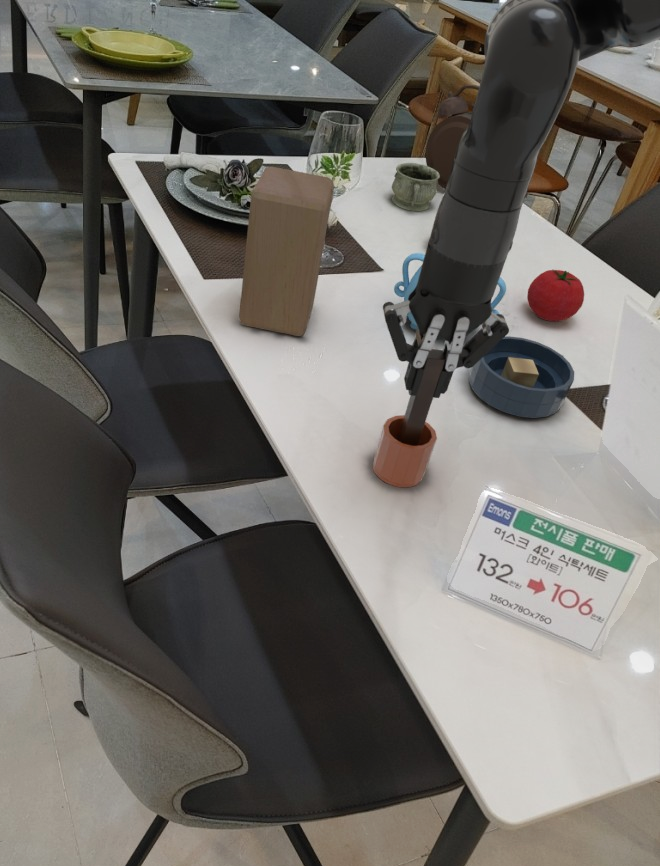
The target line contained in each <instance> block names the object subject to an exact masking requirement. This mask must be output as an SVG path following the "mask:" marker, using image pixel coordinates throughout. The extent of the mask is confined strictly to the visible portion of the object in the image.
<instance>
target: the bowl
mask: <svg viewBox="0 0 660 866" xmlns="http://www.w3.org/2000/svg"><path fill="white" fill-rule="evenodd" d="M508 357H512V358H521V359H530V360H533V361H534V364H535V366H536V368H537V371H538V373H539V375H538V378H537V380H536V382H535V385H534V387H533V388H530V387H526V386H523V385H519V384H516V383H514V382H511V381H509V380H507V379H505V378H503V377H501V374H502V372H503V369H504V367H505V364H506V362H507V359H508ZM469 373H470V374H469V378H468V381H469V385H470V388H471V389H472V391H473V392H474V393H475V394H476V395H475V396H477V398H480V399H481V400H482V401H483V402H485V404H487V405H488V406H490V407H492V408H494V409H497V410H498V411H500V412H502V413H506V414H509V415H512V416H517V417H520V418H530V419H537V418H544V417H549V416H551V415H553V414H556V413H557V412H558V411H559V410H560V409H561V408H562V407H563V404H564V402H565V400H566V398H567V396H568V395H569V394H568V393H569V392H570V390H571V387H572V385H573V383H574V381H575V370H574V368H573V366H572V364H571V363H570V361H569V360H568V359H567V358H565V356H564V355H563V354H561V353H559V352H558V351H556V350H555V349H554V348H552V347H550V346H548V345H546V344H543V343H542V342H539V341H536V340H533V339H528V338H525V337H518V336H510V335H509V336H508V335H506V336H505V337H504V338H503V339H502V340H501V341H500V342H499V343H497V344H496V345H495V346H494V347H493V348H492V349H491V350H490V351H489V352H488V353H487V354H486V355H485V356H484V357H483V358H481V359H480V360H479V361H478V362H477V363H476V364H475V365H474V366H473V367H471V370H470V372H469Z"/></svg>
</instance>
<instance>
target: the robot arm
mask: <svg viewBox="0 0 660 866" xmlns="http://www.w3.org/2000/svg"><path fill="white" fill-rule="evenodd" d="M658 40H660V0H506V1H504V3H503V4H502V5H501V6H500V7H499V8H498V10H497V11H496V12H495V13H494V14H493V16H492V18H491V19H490V22H489V24H488V26H487V29H486V32H485V36H484V48H483V49H484V50H483V51H484V59H485V60H484V63H483V64H484V65H483V70H482V74H481V78H480V82H479V85H478V86H479V90H477V93H476V94H477V95H476V98H475V102H474V103H475V105H474V109H473V108H472V110H473V113H472V117H471V121H470V125H469V126H468V127H467V129H466V130H465V131H464V133H463V135H462V138H461V140H460V143H459V145H458V148H457V151H456V155H455V159H454V162H453V166H452V169H451V173H450V177H449V180H448V184H447V187H446V189H444V193H443V195H444V196H443V195H442V198H441V201H440V203H439V206H438V208H437V210H436V214H435V218H434V221H433V225H432V228H431V233H430V235H429V239H428V243H427V247H426V250H425V253H424V255H425V257H424V261H423V262H422V264H421V265H422V268H421V272H420V275H419V279H418V283H417V286H416V288H415V289H414V290H413V291H412V292H411V294H410V295H409V297H408V300H406V301H404V300H403V301H400V302H397V303H394V302H392V301H387V302H385V303H384V304H383V306H382V310H383V315H384V320H385V324H386V327H387V330H388V333H389V337H390V339H391V341H392V344H393V347H394V351H395V353H396V356H397V359H398V360H399V361H400V362H407V367H406V370H405V374H404V377H403V380H404V385H405V390H406V391H408V395H409V396H411V395H413V396H416V395H417V392H418V389H419V386H420V383H421V379H422V376H423V373H424V370H425V369H424V367H423V365H424V363H425V361H426V358H427V356H428V354H429V351H431V350H432V349H434V346H435V343H436V341H437V340H439V341H440V340H443V341H444V343H443V347H442V350H443V354H444V357H445V363H444V366H443V369H442V371H441V374H440V377H439V380H438V383H437V387H436V390H435V393H434V396H433V399H440V397H441V394H442V395H445V393H447V391H448V389H449V386H450V382H451V380H452V377H453V374H454V372H455V371H456V369H458V368H463V367H464V368H465V369H472V367H473V366H474V365H475V364H476V363H477V362H478V361H479V360H480V359H481V358H483V357H484V356H485V355H486V354H487V353H488V352H489V351H490V350H491V349H492V348H493V347H494V346H495V345H496V344H497V343H499V342H500V341H501V340H502V339H503V338H504V337H507V336H508V334H509V333H510V328H509V325H508V323H507V321H506V318H505V316H504V315H503V314H501V313H499V314H497V315H496V314H495V313H493V312H492V307H491V303H492V299H493V297H494V295H495V291H496V289H497V286H498V284H497V283H498V281H499V278H500V277H501V275H502V272H503V269H504V266H505V264H506V260H507V259H508V255H509V253H510V251H511V249H512V247H513V244H514V237H515V235H516V232H517V228H518V224H519V218H520V214H521V211H522V206H523V204H524V201H525V198H526V194H527V192H528V190H529V187H530V185H531V181H532V178H533V175H534V171H535V168H536V165H537V162H538V158H539V154H540V152H541V149H542V147H543V146H544V143H545V142H546V140H547V138H548V136H549V134H550V132H551V130H552V128H553V126H554V124H555V122H556V119H557V118H558V116H559V113H560V111H561V109H562V107H563V106H564V103H565V100H566V98H567V95H568V93H569V91H570V88H571V86H572V83H573V80H574V78H575V74H576V71H577V69H578V64H579V62H581V61H583V60H585V59H588V58H590V57H593V56H595V55H597V54H600V53H602V52H605V51H607V50H610V49H613V48H617V47H623V48H638V47H642V46H645V45H648V44H650V43H653V42H656V41H658ZM410 312H411V313H412V315H413V318H414V320H415V322H416V324H417V326H418V328H417V330H415V336H414V340H413V343H412V344H410V343H408V342H407V339H406V336H405V332H404V330H403V326H405V324H406V323H407V320H408V319H407V318H408V316H407V314H408V313H410ZM477 327H478V328H479V327H481V328H480V330H478V331H477V332H476V333H475V334H474V335H473V336H472V337H471V338H470V339H469V340H468V341H467V342H466V343H465V340H466V337H467V336H468V335H470V334H471V333H473V332H474V331H475V330H476V329H478V328H477Z"/></svg>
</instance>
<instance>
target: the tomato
mask: <svg viewBox="0 0 660 866" xmlns="http://www.w3.org/2000/svg"><path fill="white" fill-rule="evenodd" d="M584 289H585V288H584V285H583V282H582V281H581V280H580V278H579V277H577V276H575V275H574V274H572V273H571V272H570V271H567V270H562V269H561V270H560V269H548V270H545V271H543V272H541V273H540V274H539V275H538V276H536V277H535V278H534V279H533V280H532V282H531V283H530V284H529V286H528V289H527V294H526V295H527V296H526V299H527V303H528V306H529V309H530V310H531V311H532V312H533V313H534V314H535V316H537V317H538V318H539V319H542V320H545V321H548V322H553V323H555V322H561V321H565V320H568V319H570V318H571V317H574V316H575V315H576V314H577V313H578V312H579V311H580V310H581V308H582V306H583V304H584V301H585V290H584Z"/></svg>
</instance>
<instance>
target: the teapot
mask: <svg viewBox="0 0 660 866" xmlns="http://www.w3.org/2000/svg"><path fill="white" fill-rule="evenodd" d="M424 257H425V253H422V252H414V253H411V254H408V256H407V257H405V259H404V261H403V263H402V269H401V270H402V281H397V282H396V283H395V285H394V286H393V292H394V294H395V295H396V296H398V297H399V298H403V301H406V300H408V297H409V295H410V294H411V292H412V291H413V290H414V289H415V288H416V286H417V283H418V279H419V275H420V272H421V268H422V264H421V265H420V266H419V268H418V269H417V270H416V272H415V273H414V274H413V276H412V277H411V279H410V275H409V266H410V263H411V262H412V261H420V262H422V263H423V261H424ZM497 286H498V287H499V291H498V294H497V295H496V297H495V298H494V299H493V301H491V307H492V312H493V313H495V314H496V315H497V314H500V312H499V311H498V309H495V308H496V307H497V306H498V305H499V304H500V302H501V301H502V300H503V298H504V297H505V294H506V291H507V285H506V282H505V280H504V279H503V278H502V277H501V276H500V278H499V281H498V283H497ZM400 287H403V290H402V289H400ZM407 318H408V320H409V322H411V323H410V327H411V329H413V330H415V331H416V330H417V328H418V326H417V324H416V322H415V320H414V318H413V315H412V313H411V312H410V313H408V314H407ZM478 328H479V327H477V328H476V329H478Z"/></svg>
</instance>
